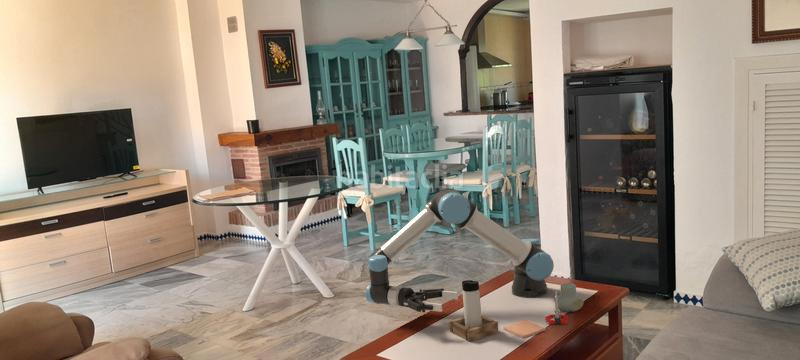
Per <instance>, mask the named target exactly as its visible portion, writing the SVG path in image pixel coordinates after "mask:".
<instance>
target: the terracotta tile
mask: <svg viewBox="0 0 800 360" xmlns="http://www.w3.org/2000/svg"><path fill="white" fill-rule="evenodd" d="M502 330H503V331H505V332H508V333H510V334H513V335H515V336H517V337H519V338H521V339H525V338H528V337H530V336H533V335H536V334H539V333H542V332H545V331H547V328H546V327H544V326H542V325H539V324H537V323H535V322H533V321H529V320H527V319H524V320H521V321H518V322H516V323H515V322H514V323H513V324H510V325H507V326H504V327H503V328H502Z"/></svg>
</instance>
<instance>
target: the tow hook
mask: <svg viewBox="0 0 800 360" xmlns="http://www.w3.org/2000/svg"><path fill="white" fill-rule="evenodd" d="M558 296H559V295H558V290H554V309H555V310H554V314H553V313H552V314H548V315H546V316H545V321H546V322H548V325H557V326H558V325H567V324H568V321H569V316H567V315H565V314H560V309H559V308H558ZM552 318H554V319H552Z"/></svg>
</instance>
